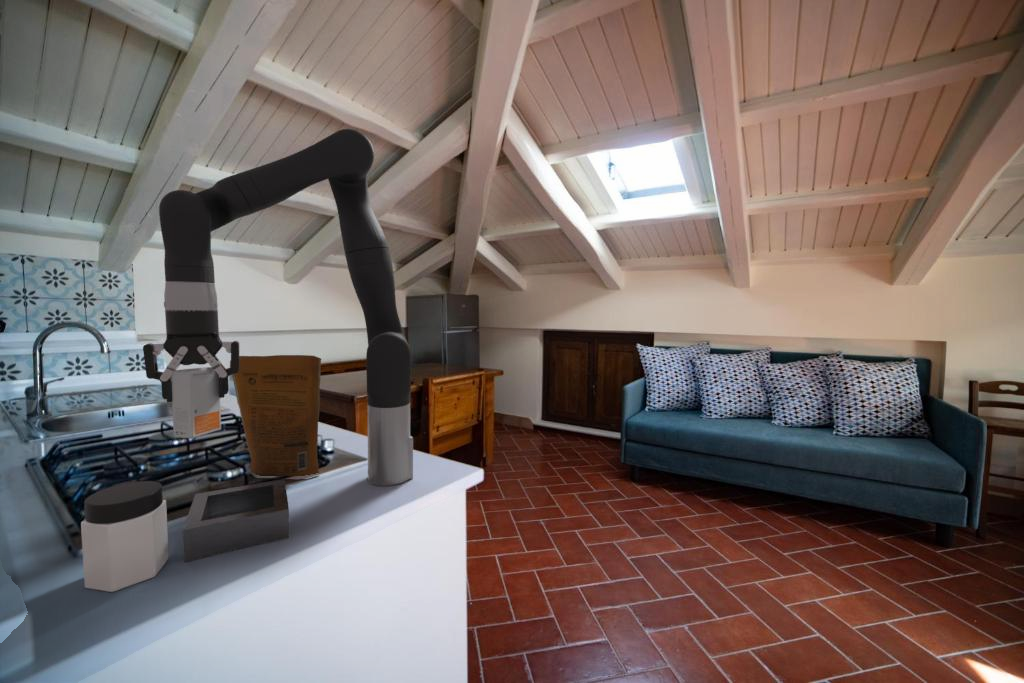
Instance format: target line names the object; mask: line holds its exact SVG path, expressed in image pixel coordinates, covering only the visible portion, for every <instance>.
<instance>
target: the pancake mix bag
mask: <svg viewBox="0 0 1024 683" xmlns="http://www.w3.org/2000/svg"><path fill="white" fill-rule="evenodd" d="M321 364H322V358H320V357H318V356H316V355H311V354H310V355H309V354H307V355H306V354H305V355H304V354H279V355H278V354H276V355H239V371H238V372H237V373H235V374H232V375H231V378H232V381H233V386H234V391H235V395H236V402H237V405H238V408H239V413H240V418H241V422H242V426H243V431H244V434H245V435H244V437H245V441H246V446H247V449H248V452H249V456H250V460H251V463H250V465H249V466H250V468H249V472H250V471H251V472H252V473H254V474H256V475H259V476H305V475H311V474H316V473H320V469H319V463H318V452H317V451H318V441H319V438H318V437H319V419H320V402H321V400H320V399H321V397H320V395H321V394H320V392H321V391H320V389H321V388H320V386H321ZM230 367H231V359H230V360H229V368H230Z"/></svg>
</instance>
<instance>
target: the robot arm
mask: <svg viewBox="0 0 1024 683" xmlns="http://www.w3.org/2000/svg"><path fill="white" fill-rule="evenodd" d="M374 160H375V150H374V146H373V144H372V142H371V140H370V139H369V138H368V137H367V135H365V134H364V133H362V132H360V131H358V130H356V129H353V128H352V129H351V128H342V129H339V130H337V131H335V132H333V133H332V134H330V135H328V136H327V137H324V138H323V139H321V140H319V141H318V142H316V143H314V144H312V145H309V146H307V147H306V148H304V149H301V150H299V151H297V152H294V153H293V154H290V155H287V156H285V157H282V158H280V159H276V160H275V161H271V162H269V163H266V164H262V165H260V166H256V167H253V168H251V169H248V170H247V169H246V170H244V171H242V172H239V173H236V174H232V175H230V176H227V177H224V178H221V179H219V180H218V181H217V182H215V184H214V185H212V186H211V187H209V188H206V189H203V190H201V191H198V192H195V193H194V192H192V191H191V190H185V189H176V190H172V191H170V192H168V193H166V194H164V196H163V197H162V199H161V200H160V203H159V206H158V213H159V214H158V215H159V223H160V225H159V226H160V231H161V235H162V236H161V237H162V243H163V247H164V261H163V262H164V265H163V266H164V278H165V280H164V281H165V282H164V283H165V284H164V293H163V294H164V295H163V297H164V300H163V307H164V313H165V314H164V315H165V330H166V331H165V332H166V333H165V334H166V338H165V341H164V343H163V342H162V343H153V342H150V343H149V342H148V343H146V344H145V345H143V347H142V351H143V358H144V366H145V367H144V368H145V375H146V378H147V379H150V380H151V379H153V380H157V381H160V384H161V386H160V387H161V397H162V399H163V400H166V401H167V403H172V388H171V375H172V374H173V372H174V371H176V370H178V368H179V367H180V366H181V365H183V366H191V365H194V364H195V365H207V364H209V367H212V368H213V369H214V370H215V371H216V372H217V374H218V375H219V378H218V383H219V398H220V399H221V398H222V399H224V398H225V396H226V395H227V394H228V393H229V390H230V389H229V388H230V387H229V376H232V374H235V373H237V372H238V371H239V356H240V342H239V341H238V340H233V341H222V339H221V337H220V332H219V331H220V330H219V329H220V328H219V310H218V294H217V289H216V285H215V283H216V282H215V265H214V264H215V263H214V260H213V259H214V258H213V255H212V249H211V248H212V245H211V244H212V232H213V231H215V230H217V229H220V228H222V227H224V226H226V225H228V224H230V223H232V222H234V221H236V220H237V219H240V218H243V217H246V216H250V215H252V214H255V213H258V212H261V211H263V210H266V209H268V208H271V207H273V206H275V205H278V204H279V203H281V202H284V201H286V200H287V199H290V198H291V197H293V196H294V195H297V194H298V193H299V192H301V191H304V190H305V189H307V188H309V187H312V186H313V185H316V184H318V183H320V182H322V181H326V180H328V184H329V186H330V190H331V192H332V195H333V199H334V200H335V201H334V202H335V205H336V210H337V214H338V221H339V227H340V236H341V238H342V244H343V251H344V255H345V259H346V261H345V262H346V265H347V268H348V269H347V270H348V273H349V278H350V280H351V283H352V286H353V288H354V291H355V294H356V296H357V299H358V301H359V304H360V307H361V309H362V312H363V316H364V320H365V321H364V322H365V328H366V334H367V335H366V337H367V348H366V354H365V355H366V359H365V360H366V361H365V362H366V366H365V369H366V397H367V404H366V405H367V481H368V482H369V483H370V484H371V485H376V486H382V487H383V486H384V487H385V486H395V485H399V484H401V483H404V482H406V481H408V480H410V479H411V480H412V479H413V478H414V437H413V436H412V435H411V393H412V392H411V390H412V382H411V381H412V352H411V348H410V345H409V344H410V343H408V341H407V339H406V336H405V332H404V330H403V327H402V324H401V320H400V317H399V313H398V309H397V308H398V307H397V300H396V298H397V297H396V284H395V276H394V269H393V263H392V258H391V251H390V249H389V248H390V247H389V244H388V242H387V238H386V236H385V233H384V230H383V228H382V226H381V225H380V222H379V220H378V219H377V217H376V215H375V212H374V210H373V208H372V202H371V200H370V193H369V188H368V178H367V177H368V176H367V174H368V173H369V171H370V170H371V169H372V166H373V164H374ZM222 348H224V349H225V351H226V352H227V353H228V354H230V360H231V367H230V366H229V367H228V368H226V367H225V366H224V365H223V363H222V361H220V359H219V358H218V357H217V356H216V355H217V354H218V353H219V352H220V350H221V349H222ZM162 350H164V351H165V352H166V353H168V354H169V355H170V356H171V357H172V359H171V360H170V362H168V365H167V366H166V367H165V370H164V371H159V365H158V359H157V358H158V357H157V356H160V355H161V353H162Z"/></svg>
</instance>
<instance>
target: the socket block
mask: <svg viewBox="0 0 1024 683" xmlns="http://www.w3.org/2000/svg"><path fill="white" fill-rule="evenodd" d="M286 485H287V484H286V480H285V479H274V480H270V481H269V480H268V481H264V482H258V483H253V484H246V485H241V486H235V487H229V488H223V489H218V490H217V489H216V490H211V491H204V492H199V493H195V494H194V497H193V500H192V502H191V505H190V507H189V511H188V514H187V517H186V520H185V523H184V526H183V528H182V540H183V541H182V542H183V544H182V545H183V546H182V547H183V563H187V562H191V561H195V560H201V559H205V558H210V557H212V556H213V557H214V556H216V555H221V554H227V553H230V552H234V551H239V550H243V549H247V548H252V547H256V546H260V545H264V544H269V543H273V542H277V541H282V540H286V539H290V509H289V507H290V506H289V502H288V501H289V500H288V492H287V486H286Z"/></svg>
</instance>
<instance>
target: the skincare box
mask: <svg viewBox="0 0 1024 683" xmlns="http://www.w3.org/2000/svg"><path fill="white" fill-rule="evenodd" d="M219 377H220V376H219V375H218V374H217V372H216V371H215V370H214V369H213V368H212V367H211V366H196V367H190V368H189V367H188V368H183V369H177V370H176V371H174V372H173V374H172V375H171V388H172V402H171V404H172V406H171V407H172V427H173V428H172V430H173V437H174V438H183V439H195V438H198V437H200V436H204V435H208V434H210V433H214V432H218V431H221V430H222V416H221V414H222V412H221V398H219V383H218V378H219Z"/></svg>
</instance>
